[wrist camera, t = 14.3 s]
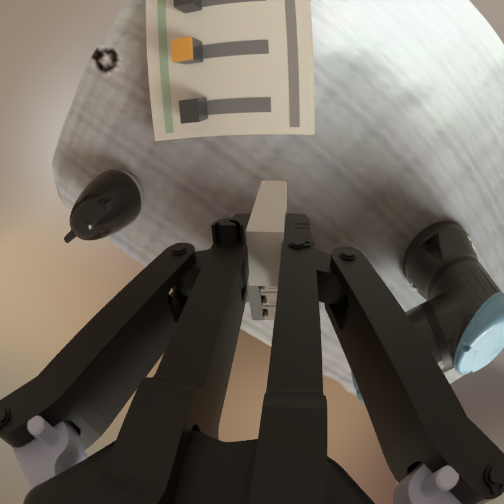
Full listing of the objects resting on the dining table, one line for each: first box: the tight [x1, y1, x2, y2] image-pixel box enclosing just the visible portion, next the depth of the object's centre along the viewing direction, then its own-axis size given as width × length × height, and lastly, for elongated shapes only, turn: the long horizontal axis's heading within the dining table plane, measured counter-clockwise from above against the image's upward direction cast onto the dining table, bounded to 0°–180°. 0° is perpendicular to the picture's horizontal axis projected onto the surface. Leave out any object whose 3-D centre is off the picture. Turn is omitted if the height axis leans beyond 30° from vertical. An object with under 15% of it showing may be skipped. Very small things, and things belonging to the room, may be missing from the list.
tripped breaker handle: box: [171, 36, 203, 65], centre depth 28 cm, size 2×3×5 cm
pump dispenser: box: [64, 170, 143, 243], centre depth 41 cm, size 10×10×15 cm
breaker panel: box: [146, 0, 314, 141], centre depth 30 cm, size 22×24×9 cm
